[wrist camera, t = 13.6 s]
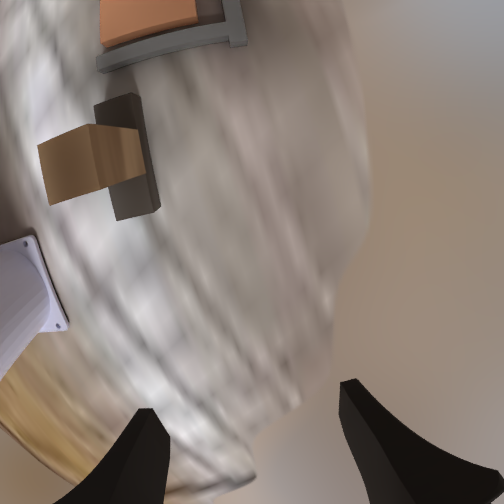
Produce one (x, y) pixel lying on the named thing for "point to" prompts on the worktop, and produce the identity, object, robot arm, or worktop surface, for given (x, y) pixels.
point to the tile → (142, 18)
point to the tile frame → (180, 40)
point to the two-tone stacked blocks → (104, 160)
